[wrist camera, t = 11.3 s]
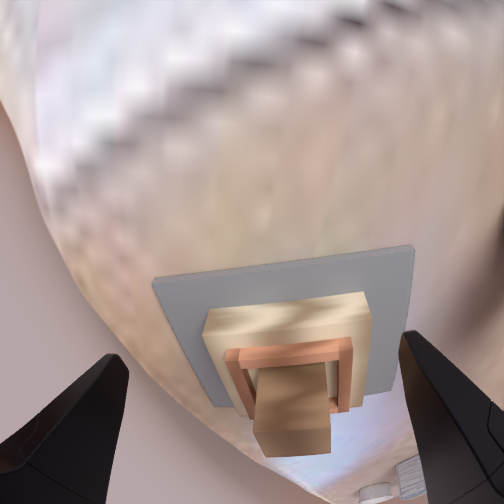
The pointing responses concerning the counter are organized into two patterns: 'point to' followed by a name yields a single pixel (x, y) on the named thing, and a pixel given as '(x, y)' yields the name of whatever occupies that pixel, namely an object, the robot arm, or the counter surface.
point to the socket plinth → (292, 345)
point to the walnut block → (293, 411)
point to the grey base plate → (290, 289)
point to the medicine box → (411, 478)
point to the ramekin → (375, 493)
